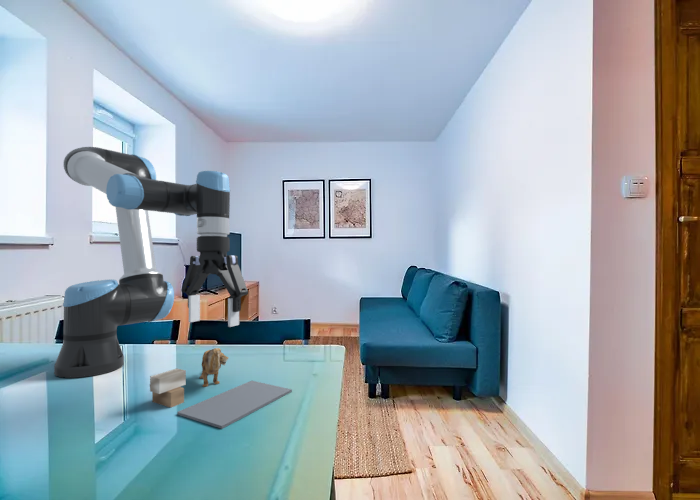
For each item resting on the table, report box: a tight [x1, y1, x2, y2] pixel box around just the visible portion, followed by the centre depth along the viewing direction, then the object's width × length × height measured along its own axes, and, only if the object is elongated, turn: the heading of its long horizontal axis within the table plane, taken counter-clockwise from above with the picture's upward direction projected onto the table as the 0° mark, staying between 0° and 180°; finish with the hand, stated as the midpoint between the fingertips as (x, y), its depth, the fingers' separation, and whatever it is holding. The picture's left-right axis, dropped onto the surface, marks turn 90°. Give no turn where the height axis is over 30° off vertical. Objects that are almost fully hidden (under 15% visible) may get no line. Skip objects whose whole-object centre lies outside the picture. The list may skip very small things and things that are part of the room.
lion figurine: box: [199, 347, 229, 388], centre depth 89 cm, size 15×5×9 cm, turn 34°
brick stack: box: [149, 368, 187, 408], centre depth 76 cm, size 6×6×6 cm
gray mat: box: [176, 380, 293, 430], centre depth 76 cm, size 12×20×1 cm, turn 152°
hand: (213, 323), depth 88 cm, fingers open, 13 cm apart
